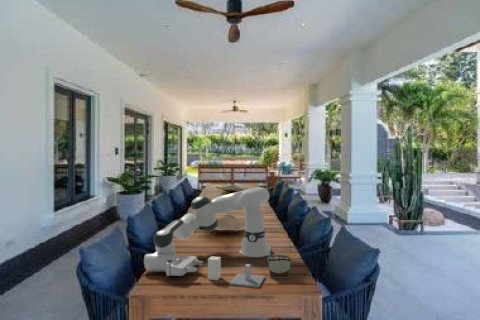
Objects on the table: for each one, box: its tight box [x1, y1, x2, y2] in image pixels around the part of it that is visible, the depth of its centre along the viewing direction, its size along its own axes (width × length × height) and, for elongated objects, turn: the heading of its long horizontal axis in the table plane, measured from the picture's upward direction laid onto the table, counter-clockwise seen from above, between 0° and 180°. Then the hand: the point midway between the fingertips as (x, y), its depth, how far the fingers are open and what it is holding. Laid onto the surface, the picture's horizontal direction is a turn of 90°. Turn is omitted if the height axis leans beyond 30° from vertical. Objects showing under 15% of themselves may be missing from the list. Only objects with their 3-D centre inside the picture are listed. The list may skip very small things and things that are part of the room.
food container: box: [267, 254, 293, 279], centre depth 208 cm, size 12×6×10 cm, turn 92°
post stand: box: [229, 263, 266, 289], centre depth 200 cm, size 14×14×8 cm
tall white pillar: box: [207, 256, 222, 281], centre depth 205 cm, size 5×5×10 cm
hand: (199, 266), depth 206 cm, fingers open, 8 cm apart
